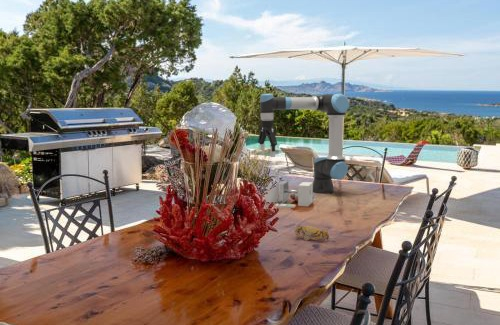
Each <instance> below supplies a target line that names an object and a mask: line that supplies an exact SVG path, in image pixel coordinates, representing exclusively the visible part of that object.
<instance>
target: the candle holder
mask: <svg viewBox="0 0 500 325" xmlns="http://www.w3.org/2000/svg"><path fill="white" fill-rule="evenodd" d="M276 181H277V182H279V183H278V184H277V186H276V187H274V188H273V189H271V190H270V191H269V192H268V194H267V195H266V196H265V199H266V201H267V202H269V203H268V204H272V203H271V202H274V203H273V204H275V202H276V203H278V202H279V198H280V184H281V183H280V181H279V180H276ZM271 186H272V184H270V186H269V187H268V189H269V188H270V187H271ZM267 202H266V203H267Z"/></svg>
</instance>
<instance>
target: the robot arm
mask: <svg viewBox="0 0 500 325" xmlns="http://www.w3.org/2000/svg"><path fill="white" fill-rule="evenodd" d="M259 105H260V115H259V116H260V129H259V135H258V140H257V143H258V144H259V151H260V150H262V151H263V152H262V155H261V156H265V155H266V153H265V152H266V151H265V148H266V146H265V145H266V144H265V140H266V139H267V138H268V140H269V144H270V146H269V147H270V150H269V154H270V158H275V157H276V146H277V145H278V141H277V137H276V133H275V132H276V131H275V128H273V127H274V111H276V110H277V111H278V110H280V111H281V110H283V111H286V110H312V111H319V112H323V113H324V112H325V113H326V116H327V117H328V156H322V157H315V158H314V160H313V165H314V166H313V181H312V182H313V193H318V194H319V193H320V194H329V193H334V192H335V187H334V185H333V181H332V180H341V179H344V178H345V176H347V175H348V171H349V167H348V164H347V163H346V161H345V159H346V158H345V157H344V156H343V132H344V131H343V127H344V126H343V124H344V117H346V112H347V111H348V110H349V107H350V101H349V98H348V97H347V96H346V95H344V94H342V93H326V94H320V95H312V96H309V97H308V96H305V97H301V96H299V97H298V96H294V97H293V96H291V97H290V96H274V94H273V93H262V94H261V95H260V104H259Z"/></svg>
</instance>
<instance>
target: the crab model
mask: <svg viewBox="0 0 500 325" xmlns="http://www.w3.org/2000/svg"><path fill="white" fill-rule="evenodd" d="M294 233H295V235H296V236H297V237H300V238H302V237H303V240H304V241H306V242H308V240H309V241H310V240H312V241H318V240H319V239H321V238H322V237H323V239H322V243H324V242H325V241H326V240H329V237H330V236H329V234H328V233H329V232H328V230H326V229H319V228H318V227H315V226H311V225H309V226H308V225H305V226H303V225H301V224H298V226H296V228H294ZM301 234H303V235H304V236H302V235H301Z"/></svg>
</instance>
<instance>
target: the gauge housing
mask: <svg viewBox="0 0 500 325" xmlns="http://www.w3.org/2000/svg"><path fill="white" fill-rule="evenodd" d="M297 190H298V193H297V205H296V203H295V204H293V203H292V204H291V203H283V204H278V202H276V204H275V205H274V206H275V207H276V208H288V209H294V208H295V207H297V206H299V207H309V206H310V205H311V204H312V203H313V193H314V192H313V181H311V182H310V181H302V182H300V184H298V188H297ZM275 207H274V208H275Z"/></svg>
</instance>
